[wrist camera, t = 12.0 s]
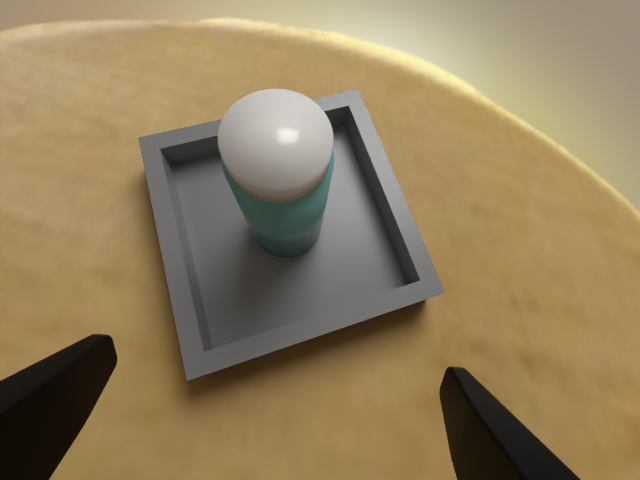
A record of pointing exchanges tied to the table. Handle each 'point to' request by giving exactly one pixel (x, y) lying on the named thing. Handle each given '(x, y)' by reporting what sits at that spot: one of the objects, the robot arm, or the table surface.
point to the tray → (276, 272)
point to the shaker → (279, 167)
